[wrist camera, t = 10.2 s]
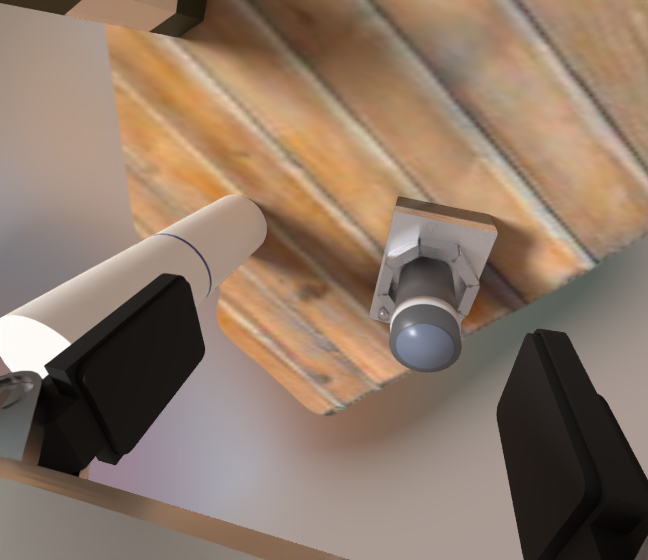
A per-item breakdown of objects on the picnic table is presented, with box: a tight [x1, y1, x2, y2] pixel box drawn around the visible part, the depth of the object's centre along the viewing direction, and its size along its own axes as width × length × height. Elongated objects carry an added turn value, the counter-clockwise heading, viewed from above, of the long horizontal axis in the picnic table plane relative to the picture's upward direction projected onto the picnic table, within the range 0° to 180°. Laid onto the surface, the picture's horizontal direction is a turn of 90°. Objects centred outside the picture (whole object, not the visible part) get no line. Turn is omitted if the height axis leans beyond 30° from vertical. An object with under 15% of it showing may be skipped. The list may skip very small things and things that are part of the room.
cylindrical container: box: [0, 195, 267, 379], centre depth 31 cm, size 7×7×25 cm
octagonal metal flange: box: [369, 197, 498, 324], centre depth 35 cm, size 12×9×7 cm
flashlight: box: [389, 257, 461, 372], centre depth 29 cm, size 5×5×10 cm
